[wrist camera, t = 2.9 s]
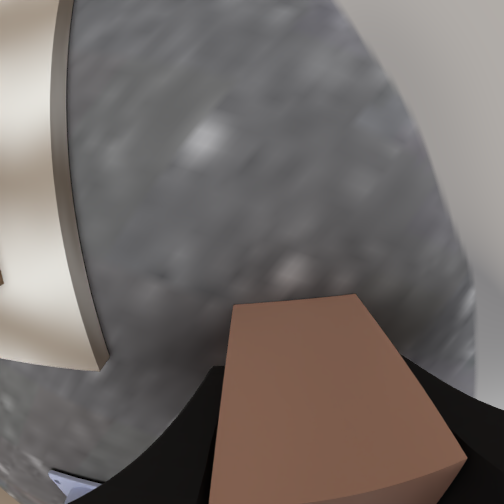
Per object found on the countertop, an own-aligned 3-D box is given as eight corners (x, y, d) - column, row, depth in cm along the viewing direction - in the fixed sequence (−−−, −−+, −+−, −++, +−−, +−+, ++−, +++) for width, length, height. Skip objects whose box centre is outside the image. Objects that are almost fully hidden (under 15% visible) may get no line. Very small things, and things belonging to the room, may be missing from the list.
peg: (348, 386, 11) (403, 541, 4) (244, 397, 11) (239, 567, 4) (355, 293, 10) (467, 458, 3) (233, 304, 10) (208, 506, 3)
